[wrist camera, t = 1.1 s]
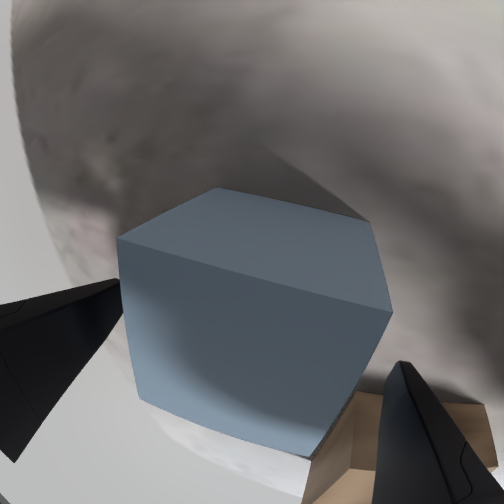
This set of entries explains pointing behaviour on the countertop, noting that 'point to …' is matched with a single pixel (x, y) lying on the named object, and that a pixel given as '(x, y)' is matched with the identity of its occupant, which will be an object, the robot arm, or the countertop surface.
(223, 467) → the countertop surface
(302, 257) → the slate-blue cube
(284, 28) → the countertop surface
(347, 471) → the tan flat block
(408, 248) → the countertop surface
